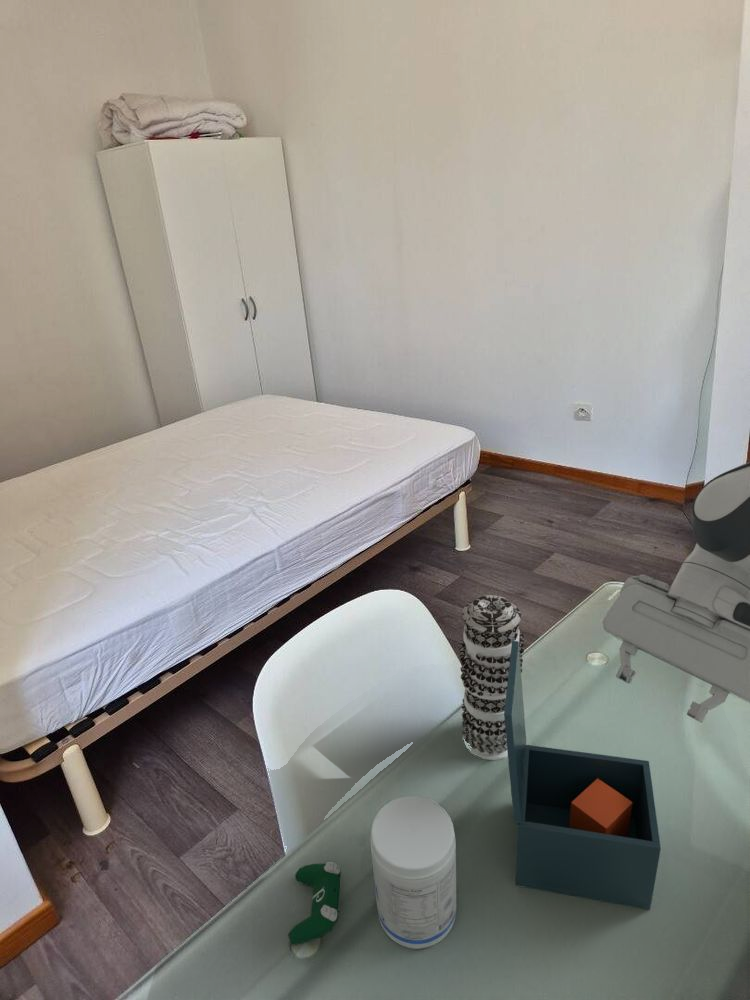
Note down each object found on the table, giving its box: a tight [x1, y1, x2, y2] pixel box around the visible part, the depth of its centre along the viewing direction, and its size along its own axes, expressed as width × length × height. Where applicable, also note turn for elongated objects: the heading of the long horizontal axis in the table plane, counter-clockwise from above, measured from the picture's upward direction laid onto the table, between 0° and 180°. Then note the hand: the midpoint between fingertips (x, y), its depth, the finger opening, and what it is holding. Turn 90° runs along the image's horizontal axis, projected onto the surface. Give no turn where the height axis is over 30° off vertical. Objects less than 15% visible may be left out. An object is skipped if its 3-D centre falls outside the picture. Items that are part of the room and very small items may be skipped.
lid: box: [504, 641, 527, 824], centre depth 82 cm, size 16×13×1 cm
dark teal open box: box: [514, 744, 662, 911], centre depth 86 cm, size 16×13×11 cm
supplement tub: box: [369, 795, 457, 950], centre depth 79 cm, size 10×10×15 cm
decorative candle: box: [458, 594, 525, 761], centre depth 100 cm, size 9×9×25 cm
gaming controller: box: [287, 861, 342, 945], centre depth 83 cm, size 9×4×6 cm
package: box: [569, 778, 633, 837], centre depth 86 cm, size 5×6×8 cm
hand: (656, 699), depth 85 cm, fingers open, 8 cm apart
